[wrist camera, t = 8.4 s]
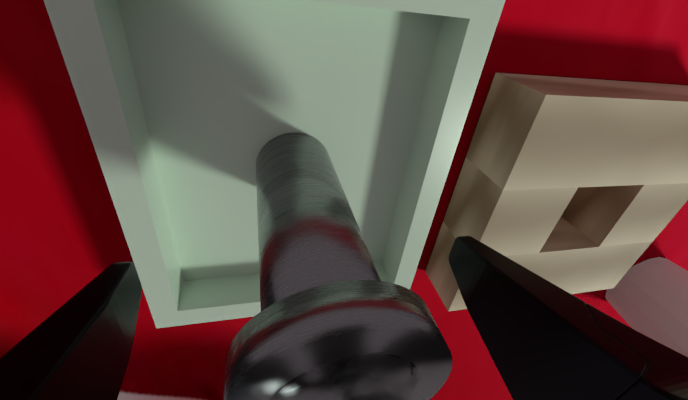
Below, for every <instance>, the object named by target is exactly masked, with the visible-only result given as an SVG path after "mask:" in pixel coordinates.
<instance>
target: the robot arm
mask: <svg viewBox="0 0 688 400" xmlns="http://www.w3.org/2000/svg"><path fill="white" fill-rule="evenodd" d="M448 259H449V264H450V267H451V269H452V272H453V274H454V277H455V280H456V282H457V285H458V287H459V290H460V293H461V295H462V298H463V300H464V303H465V305H466V307H467V309H468V311H469V313H470V315H471V317H472V319H473V321H474V323H475V325H476V327H477V329H478V331H479V333H480V335H481V337H482V339H483V341H484V343H485V345H486V347H487V349H488V351H489V353H490V355H491V357H492V359H493V361H494V363H495V365H496V367H497V369H498V371H499V373H500V375H501V377H502V379H503V380H504V382H505V384H506V386H507V388H508V390H509V392H510V394H511V396H512V398H513V400H688V357H686V356H684V355H682V354H680V353H678V352H677V351H675V350H673V349H671V348H669V347H667V346H665V345H663V344H661V343H659V342H657V341H655V340H653V339H651V338H649V337H647V336H645V335H644V334H642V333H640V332H638V331H636V330H634V329H632V328H630V327H628V326H626V325H625V324H623V323H621V322H619V321H617V320H615V319H614V318H612V317H610V316H608V315H606V314H605V313H603V312H601V311H599V310H598V309H596V308H594V307H593V306H591V305H589V304H587V303H586V304H585V302H584V301H582V300H580V299H579V298H577V297H575V296H573V295H572V294H570V293H568V292H566V291H565V290H563V289H561V288H560V287H558V286H556V285H554V284H553V283H551V282H549V281H547V280H546V279H544V278H542V277H540V276H539V275H537V274H535V273H534V272H532V271H530V270H528V269H527V268H525V267H523V266H521V265H520V264H518V263H516V262H514V261H513V260H511V259H509V258H508V257H506V256H504V255H502V254H501V253H499V252H497V251H495V250H494V249H492V248H490V247H488V246H487V245H485V244H483V243H482V242H480V241H478V240H476V239H475V238H473V237H471V236H458V237H457V238H456V239H455V240H454V243H453V246H452V248H451V251H450V253H449V257H448ZM141 293H142V286H141V282H140V279H139V276H138V273H137V271H136V268H135V265H134V264H133V263H132V262H118V263H113V264H111V265H110V266H109V267H107V268H106V269H105V270H104V271H103V272H102V273H100V274H99V275H98V276H97V277H96V278H94V279H93V280H92V281H91V282H90V283H89V284H87V285H86V286H85V287H84V288H83V289H81V290H80V291H79V292H78V293H77V294H76V295H74V296H73V297H72V298H71V299H70V300H68V301H67V302H66V303H65V304H64V305H62V306H61V307H60V308H59V309H58V310H57V311H55V312H54V313H53V314H52V315H51V316H49V317H48V318H47V319H46V320H45V321H44V322H42V323H41V324H40V325H39V326H38V327H36V328H35V329H34V330H33V331H32V332H31V333H29V334H28V335H27V336H26V337H25V338H23V339H22V340H21V341H20V342H19V343H18V344H16V345H15V346H14V347H13V348H12V349H10V350H9V351H8V352H7V353H6V354H5V355H3V356H2V357H1V358H0V400H117V398H118V394H119V391H120V388H121V385H122V381H123V378H124V375H125V371H126V368H127V365H128V361H129V358H130V354H131V350H132V345H133V339H134V334H135V328H136V322H137V316H138V310H139V305H140V299H141Z"/></svg>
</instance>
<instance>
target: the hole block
mask: <svg viewBox="0 0 688 400" xmlns="http://www.w3.org/2000/svg"><path fill="white" fill-rule="evenodd" d="M687 200H688V85H674V84H659V83H644V82H629V81H614V80H599V79H584V78H569V77H554V76H539V75H524V74H509V73H495V76H494V78H493V81H492V84H491V87H490V90H489V93H488V95H487V98H486V101H485V104H484V107H483V110H482V112H481V115H480V118H479V121H478V124H477V127H476V129H475V132H474V135H473V138H472V141H471V144H470V146H469V149H468V152H467V155H466V158H465V161H464V163H463V166H462V169H461V172H460V175H459V178H458V180H457V183H456V186H455V189H454V192H453V195H452V197H451V200H450V203H449V206H448V209H447V212H446V214H445V217H444V220H443V223H442V226H441V229H440V231H439V234H438V237H437V240H436V243H435V246H434V248H433V251H432V254H431V257H430V260H429V263H428V265H427V268H426V271H425V272H426V273H427V275H428V277H429V279H430V280H431V282H432V284H433V286H434V287H435V289H436V291H437V293H438V294H439V296H440V298H441V300H442V301H443V303H444V305H445V307H446V308H447V310H448V311H455V310H462V309H467V307H466V305H465V303H464V300H463V298H462V295H461V293H460V290H459V287H458V285H457V282H456V280H455V277H454V274H453V272H452V269H451V267H450V264H449V259H448V257H449V253H450V251H451V248H452V246H453V243H454V240H455V239H456V238H457V237H458V236H471V237H473V238H475V239H476V240H478V241H480V242H482V243H483V244H485V245H487V246H488V247H490V248H492V249H494V250H495V251H497V252H499V253H501V254H502V255H504V256H506V257H508V258H509V259H511V260H513V261H514V262H516V263H518V264H520V265H521V266H523V267H525V268H527V269H528V270H530V271H532V272H534V273H535V274H537V275H539V276H540V277H542V278H544V279H546V280H547V281H549V282H551V283H553V284H554V285H556V286H558V287H560V288H561V289H563V290H565V291H566V292H568V293H570V294H576V293H583V292H590V291H598V290H605V289H612V288H614V287H615V286H616V285H617V283H618V282H619V281H620V280H621V279H622V277H623V276H624V275H625V274H626V273H627V271H628V270H629V269H630V268H631V267H632V266H633V264H634V263H635V262H636V261H637V260H638V258H639V257H640V256H641V255H642V254H643V252H644V251H645V250H646V249H647V248H648V247H649V245H650V244H651V243H652V242H653V241H654V239H655V238H656V237H657V236H658V235H659V233H660V232H661V231H662V230H663V229H664V228H665V226H666V225H667V224H668V223H669V222H670V220H671V219H672V218H673V217H674V216H675V214H676V213H677V212H678V211H679V210H680V209H681V207H682V206H683V205H684V204H685V203H686V201H687Z"/></svg>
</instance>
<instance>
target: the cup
mask: <svg viewBox="0 0 688 400" xmlns="http://www.w3.org/2000/svg"><path fill="white" fill-rule="evenodd" d="M605 298H606V300H607V301H608V302H609V303H610V304H611V305H612V306H613V308H614V309H615V310H616V311H617V312H618V313H619V314H620V315H621V316H622V318H623V319H624V320H625V321H626V322H627V323H628V324H629V325H630V326H631V327H632V329H634V330H636V331H638V332H640V333H642V334H644V335H645V336H647V337H649V338H651V339H653V340H655V341H657V342H659V343H661V344H663V345H665V346H667V347H669V348H671V349H673V350H675V351H677V352H678V353H680V354H682V355H684V356H686V357H688V271H686V270H685V269H683V268H681V267H680V266H678V265H676V264H675V263H673V262H671V261H670V260H668V259H666V258H662V257H656V258H651V259H647V260H645V261H643V262H641V263H638V264H636V265H634V266H633V267H631V268H630V269H629V270H628V271H627V273H626V274H625V275H624V276H623V277H622V279H621V280H620V281H619V282H618V283H617V285H616V286H615V287H614V288H612V289H607V291H606V295H605Z"/></svg>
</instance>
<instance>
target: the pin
mask: <svg viewBox="0 0 688 400" xmlns="http://www.w3.org/2000/svg"><path fill="white" fill-rule="evenodd" d="M256 188H257V217H258V246H259V275H260V304H261V312H260V313H258V314H257V315H256V316H254V317H253V318H252V319H251V320H250V321H249V322H247V323H246V324H245V325H244V326H243V328H242V329H241V330H240V331H239V332H238V333H237V335H236V336H235V338H234V339H233V341H232V342H231V344H230V347H229V349H228V351H227V356H226V365H225V383H224V400H430V399H431V398H432V397H433V396H434V395H435V394H436V393H437V392H438V391H439V389H440V388H441V387H442V386H443V384H444V383H445V381H446V380H447V378H448V376H449V374H450V372H451V368H452V355H451V352H450V350H449V348H448V346H447V344H446V342H445V340H444V338H443V336H442V334H441V332H440V330H439V329H438V327H437V325H436V323H435V321H434V319H433V317H432V315H431V313H430V311H429V309H428V307H427V306H426V304H425V302H424V301H423V300H422V299H421V298H420V297H419V296H418V295H417V294H416V293H414V292H413V291H411V290H410V289H407V288H405V287H403V286H400V285H397V284H393V283H390V282H384V281H381V280H380V277H379V275H378V273H377V270H376V268H375V265H374V263H373V260H372V258H371V256H370V253H369V251H368V248H367V246H366V244H365V241H364V239H363V236H362V234H361V231H360V229H359V227H358V224H357V222H356V219H355V217H354V215H353V212H352V210H351V207H350V205H349V202H348V200H347V198H346V195H345V193H344V190H343V188H342V186H341V183H340V181H339V178H338V176H337V173H336V171H335V169H334V166H333V164H332V161H331V159H330V157H329V154H328V152H327V150H326V148H325V147H324V145H323V144H322V143H321V142H320V141H319V140H317V139H316V138H314V137H312V136H310V135H307V134H303V133H295V132H294V133H285V134H282V135H279V136H277V137H274V138H273V139H271V140H270V141H268V142H267V143H266V144H265V145H264V146H263V147H262V149H261V150H260V152H259V154H258V157H257V160H256Z"/></svg>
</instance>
